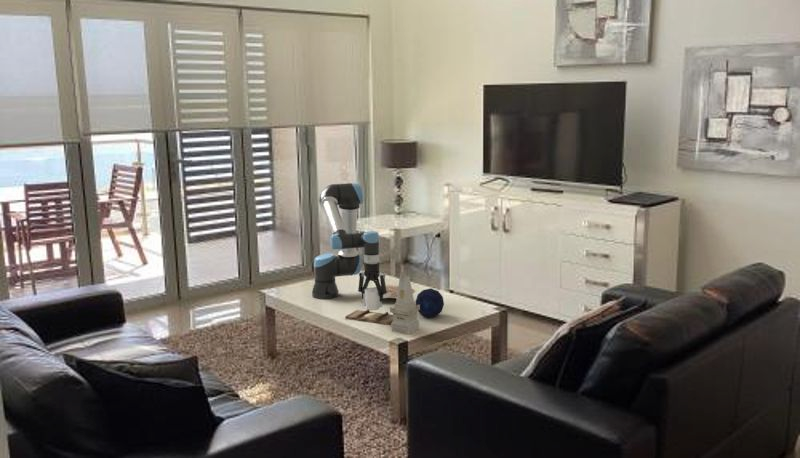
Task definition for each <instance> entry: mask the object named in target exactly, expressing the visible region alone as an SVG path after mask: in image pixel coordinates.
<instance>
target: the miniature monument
mask: <svg viewBox="0 0 800 458" xmlns="http://www.w3.org/2000/svg"><path fill="white" fill-rule="evenodd" d="M397 286H398V293H397V298H396V300H395V303H394V305H393V307H392V306H390V307H389V313H392V315H393V322H392V324H391V332H394V333H398V332H399V334H403V333H405V334H404V335H410V333H411V334H412V333H414V332H416V331H418V330H419V328H420V321H419V319H418V310H420V305H417V307H416V300H415V299H414V293H413V294H412V289H413V287H412V283H411V278H410V273H409V272H408V271H407V270H406V269H403V270H402V271H401V273H400V274H399V280H398V285H397ZM414 300H415V301H414ZM417 329H418V330H417Z"/></svg>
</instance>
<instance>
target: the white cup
mask: <svg viewBox="0 0 800 458" xmlns="http://www.w3.org/2000/svg"><path fill="white" fill-rule="evenodd" d="M378 295H379V293H378V290H377V288H373V287H367V288H366V289H365V303H366V306H365V309H366V310H370V311H378V310H379V309H380V308H378Z"/></svg>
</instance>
